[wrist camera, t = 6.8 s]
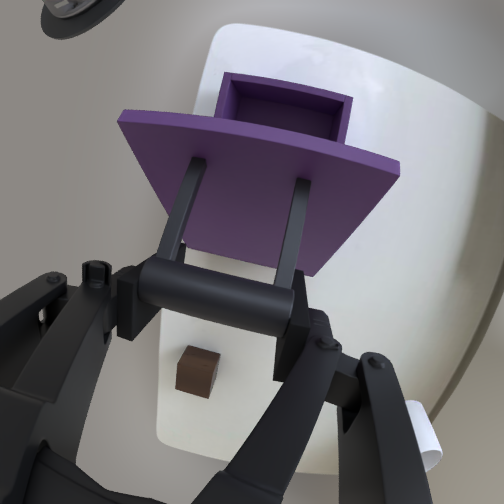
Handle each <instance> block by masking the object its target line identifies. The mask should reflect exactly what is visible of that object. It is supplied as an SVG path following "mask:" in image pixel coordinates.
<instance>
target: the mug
mask: <svg viewBox="0 0 504 504" xmlns="http://www.w3.org/2000/svg"><path fill="white" fill-rule="evenodd" d="M405 403H406V406H407V409H408V412H409V415H410V418H411V422H412V425H413V428H414V432H415V435H416V438H417V442H418V446H419V449H420V453H421V456H422V460H423V464H424V468H425V472H427V471H429V470H430V469H432V468H433V467H434V466H436V464H438V463H439V461H440V460H441V458H442V454H443V452H442V449H441V447H440V444H439V442H438V440H437V437H436V435H435V433H434V430H433V428H432V426H431V423H430V421H429V419H428V417H427V414H426V412H425V410H424V408H423V406H422V404H421V403H420V402H418V401H415V400H407V401H405Z"/></svg>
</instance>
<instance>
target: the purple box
mask: <svg viewBox="0 0 504 504" xmlns="http://www.w3.org/2000/svg"><path fill="white" fill-rule="evenodd" d="M352 102H353V97H350V96H347V95H343V94H339V93H335V92H332V91H328V90H324V89H320V88H315V87H311V86H307V85H302V84H297V83H292V82H287V81H282V80H277V79H271V78H265V77H259V76H252V75H245V74H237V73H229V72H224V76H223V80H222V84H221V88H220V92H219V96H218V101H217V105H216V109H215V114H214V118H222V119H228V120H235V121H241V122H247V123H253V124H258V125H263V126H269V127H274V128H279V129H283V130H288V131H293V132H297V133H302V134H306V135H310V136H314V137H318V138H322V139H326V140H330V141H334V142H338V143H341V144H345V139H346V134H347V129H348V123H349V118H350V113H351V107H352Z"/></svg>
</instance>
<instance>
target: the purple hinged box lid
mask: <svg viewBox="0 0 504 504" xmlns="http://www.w3.org/2000/svg"><path fill="white" fill-rule="evenodd" d="M117 123H118V125H119V127H120V128H121V130H122V132H123V134H124V136H125V138H126V140H127V142H128V144H129V145H130V147H131V149H132V151H133V153H134V155H135V157H136V158H137V160H138V162H139V164H140V166H141V168H142V169H143V171H144V173H145V175H146V177H147V179H148V180H149V182H150V184H151V186H152V187H153V189H154V191H155V193H156V194H157V196H158V198H159V200H160V202H161V203H162V205H163V207H164V208H165V210H166V212H167V214H168V215H169V218H168V221H167V224H166V227H165V229H164V233H163V235H162V238H161V241H160V244H159V248H158V250H157V253H156V256H151V257H150V258H148V260H147V261H146V262H145V264H144V266H143V268H142V271H141V274H140V277H139V282H138V295H139V298H140V300H141V301H143V302H145V303H149V304H152V305H155V306H158V307H162V308H165V309H169V310H172V311H175V312H179V313H182V314H186V315H190V316H193V317H197V318H200V319H204V320H208V321H212V322H216V323H219V324H223V325H227V326H231V327H235V328H239V329H243V330H248V331H252V332H256V333H260V334H265V335H269V336H274V337H278V338H283V337H284V335H285V333H286V331H287V328H288V325H289V321H290V317H291V313H292V308H293V303H294V290H293V289H291V286H292V282H293V277H294V272H295V269H298V270H302V271H304V275H306V276H310V277H313V276H314V275H315V274H316V273H317V272H318V271H319V270H320V269H321V268H322V267H323V266H324V264H325V263H326V262H327V261H328V260H329V259H330V258H331V257H332V256H333V255H334V253H335V252H336V251H337V250H338V249H339V248H340V247H341V246H342V244H343V243H344V242H345V241H346V240H347V239H348V238H349V236H350V235H351V234H352V233H353V232H354V231H355V230H356V228H357V227H358V226H359V225H360V224H361V223H362V221H363V220H364V219H365V218H366V217H367V216H368V214H369V213H370V212H371V211H372V210H373V208H374V207H375V206H376V205H377V204H378V202H379V201H380V200H381V199H382V198H383V196H384V195H385V194H386V193H387V192H388V190H389V189H390V188H391V187H392V185H393V184H394V183H395V182H396V181H397V179H398V178H399V177H400V162H399V161H397V160H394V159H391V158H388V157H385V156H382V155H379V154H375V153H372V152H369V151H366V150H362V149H359V148H356V147H352V146H349V145H345V144H341V143H338V142H334V141H330V140H326V139H322V138H318V137H314V136H310V135H306V134H302V133H297V132H293V131H288V130H283V129H279V128H274V127H269V126H263V125H258V124H253V123H247V122H241V121H235V120H228V119H222V118H214V117H207V116H199V115H190V114H181V113H170V112H159V111H145V110H126V109H125V110H123V112H122V114H121V115H120V117H119V118H118V120H117ZM182 239H183V241H184V242H185V244H187V245H186V246H187V247H188V248H191V249H195V250H199V251H203V252H207V253H211V254H216V255H220V256H224V257H228V258H233V259H237V260H241V261H245V262H250V263H254V264H258V265H263V266H267V267H271V268H275V269H277V270H276V275H275V279H274V284H273V285H271V284H267V283H262V282H258V281H254V280H250V279H245V278H241V277H237V276H233V275H229V274H225V273H220V272H216V271H212V270H208V269H204V268H200V267H196V266H192V265H188V264H184V263H180V262H176V261H175V259H176V256H177V253H178V249H179V246H180V243H181V240H182Z"/></svg>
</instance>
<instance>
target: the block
mask: <svg viewBox="0 0 504 504" xmlns="http://www.w3.org/2000/svg"><path fill="white" fill-rule="evenodd" d="M219 360H220V354H219V353H215V352H211V351H208V350H204V349H200V348H197V347H193V346H190V345H188V346H187V348H186V350H185V351H184V353H183V355H182V357H181V358H180V360H179V362H178V364H177V374H176V386H175V389H177V390H180V391H183V392H187V393H190V394H193V395H197V396H200V397H204V398H207V399H209V396H210V393H211V391H212V388H213V385H214V382H215V380H216V375H217V370H218V365H219Z"/></svg>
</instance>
